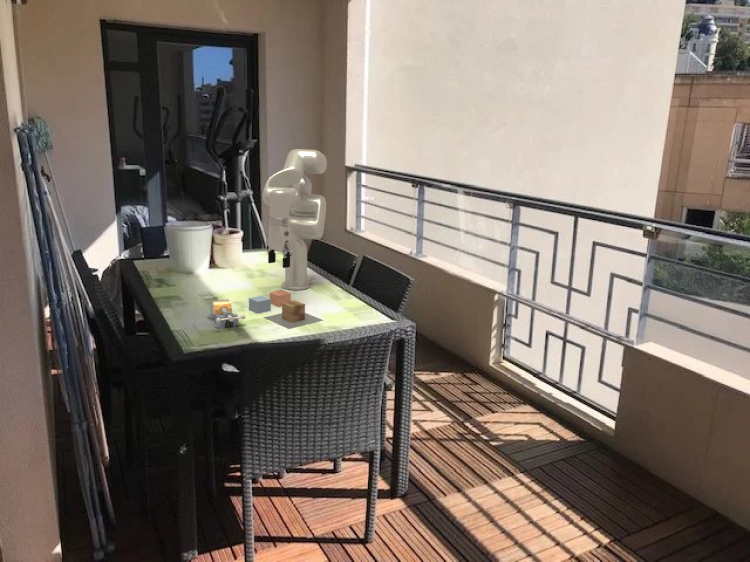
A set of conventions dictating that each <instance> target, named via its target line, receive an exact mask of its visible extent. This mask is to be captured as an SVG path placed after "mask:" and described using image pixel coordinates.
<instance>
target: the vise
mask: <svg viewBox="0 0 750 562" xmlns="http://www.w3.org/2000/svg"><path fill="white" fill-rule="evenodd" d="M246 318H247V317H246V315H244V314H242V315H241V316H238V314H237V313H234V314H233V307H232V302H231V300H230V299H229V298H227V299H218V300H211V301H210V314H209V315H207V319H208V320H213V321H214V322H215V324H214V328H215V329H219V330H221V329H226V324H227V321H228V322H229V324H231V326H232V327H233V328H238V327H240V325H238V324H239V319H241V320H245V319H246Z"/></svg>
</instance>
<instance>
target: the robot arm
mask: <svg viewBox="0 0 750 562" xmlns="http://www.w3.org/2000/svg"><path fill="white" fill-rule="evenodd" d="M327 167H328V161H327V157H326V156H325V154H324V153H322V152H321V151H319V150H316V149H303V148H302V149H301V148H295V149H292V150H290V151H289V153H288V154H287V157H286V160H285V163H284V165H283V168H282V169H281V170H280V171H277V172H276V173H274V174H272V175H271V176H270V177H269V178H268V179H267V181H266V182H265V185H264V188H263V191H262V201H263V203H264V204H265V205H267V206H269V225H268V235H267V236H268V238H267V239H266V240H265V241H264V243H265V245H266V251H267V254H268V255H267V256H268V257H267V263H268V264H275V263H276V262H277V261H276V260H277V259H276V258H277V256H276V255H277V254H276V252H279V253H281V254H282V256H283V257H282V268H283V269H285V271H284V281H283V282H281V287H282V288H283V289H285V290H290V291H302V290H307V289H309V288H310V287H311V283H310V282H311V281H314V280H315V279H316V276H315V275H308V247H307V245H306V243H305V242H304V240H307V239H308V240H319V239H322V238H323V235H324V231H325V221H326V212H327V199H326V197H325V196H324V195H321V194H312V188H313V184H312V183H311V180H309V178H308V176H307V175H305V174H317V175H318V174H319V175H322V174H324V173H325V172H326V170H327ZM291 186H292V187H291ZM290 213H292V214H293V215H291V216H290ZM295 215H296V216H295ZM303 239H304V240H303Z"/></svg>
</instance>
